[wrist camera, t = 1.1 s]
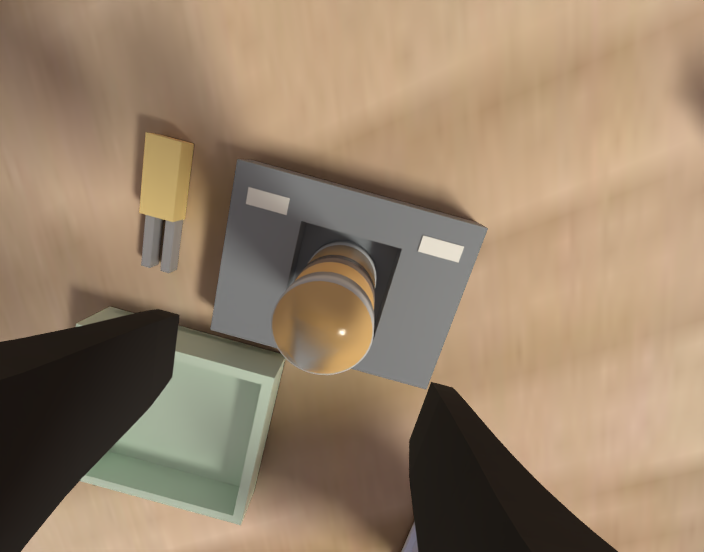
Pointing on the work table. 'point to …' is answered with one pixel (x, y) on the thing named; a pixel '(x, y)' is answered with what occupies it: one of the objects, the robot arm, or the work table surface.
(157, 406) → the parts tray
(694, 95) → the work table surface
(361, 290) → the fuse
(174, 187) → the puller tool
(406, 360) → the fuse block
